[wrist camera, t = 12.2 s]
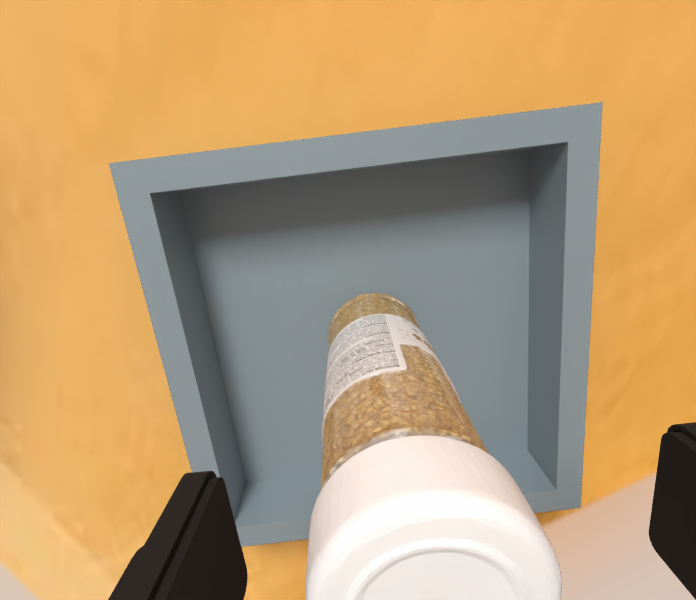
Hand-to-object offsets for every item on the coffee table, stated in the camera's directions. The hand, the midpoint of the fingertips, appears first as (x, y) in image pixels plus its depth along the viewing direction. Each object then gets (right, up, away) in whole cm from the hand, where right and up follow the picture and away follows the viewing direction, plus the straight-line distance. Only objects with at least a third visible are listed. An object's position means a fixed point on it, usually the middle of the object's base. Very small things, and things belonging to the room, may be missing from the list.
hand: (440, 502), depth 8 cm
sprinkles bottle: (-1, +3, +11) cm, 12 cm away
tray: (-1, +3, +12) cm, 12 cm away
